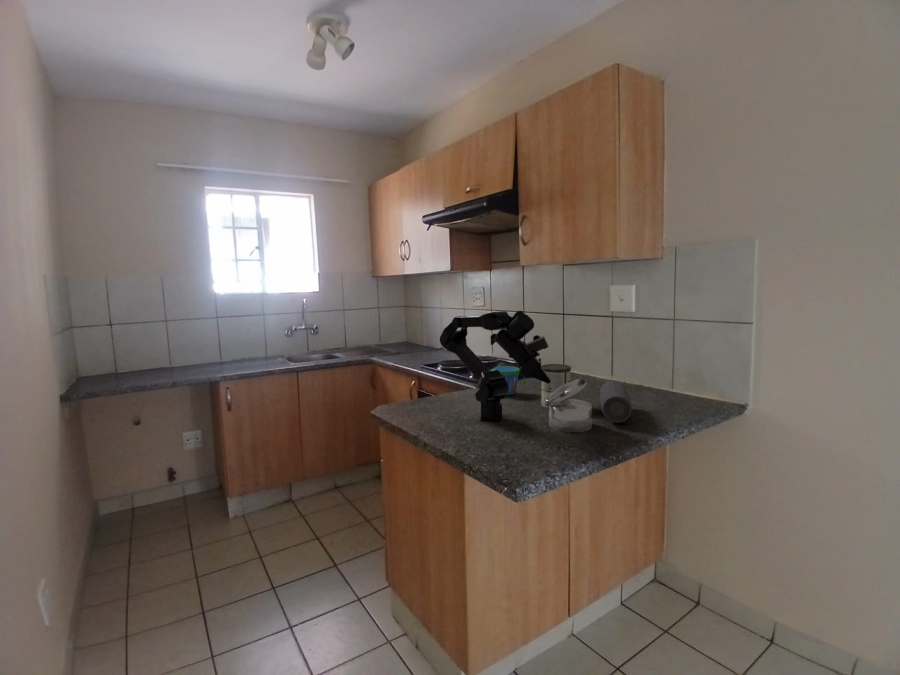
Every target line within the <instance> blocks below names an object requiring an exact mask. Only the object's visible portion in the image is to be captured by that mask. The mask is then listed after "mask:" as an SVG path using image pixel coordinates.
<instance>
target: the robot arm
mask: <svg viewBox="0 0 900 675" xmlns="http://www.w3.org/2000/svg"><path fill="white" fill-rule="evenodd" d="M468 328H482V329H483V330H486V331H497V332H496V333H492V334H491V335H490V336H489V337H490V346H493V345H494V344H495V343H497V345H498V346H500V347H501V349H503V351H504V352H505V353H507V355H508V357H509V358H510V359H513V360H514V362H515V363H517V364H518V365H517V366H518V368H519V369H520V372H519V375H521V376H522V378H523V377H524V378H526V379H527V377H531V378H533V379H535V380H537V381H538V380H539V381H541V382H542V381H543V382H545V383H548V384H549V383H550V382H551V380H550V379H549V377H548V376H547V374H546V373H545V371H544V369H543V368H542V366H543V365H542V358H541V357H540V355H541V353H540V352H539V351H542V350H546V349H548V348H549V344H548V342H547V340H546V338H545V337H546V336H540V335H539V334H536V335H533V337H532V340H531V341H530V342H526V341H523V340H522V339H523V338H524V337H525V336H526V335H527V334H528V333H530V332H531V331H532V330H533V329H534V328H535V322H534V320H533V319H532V318H531V316H529V315H527V314H526V313H524V311H523V310H517V311H516V312H515V313H514V314H513V315H512V316H510V315H509V313H508V312H507V311H506V310H505V311H504V310H503V311H502V310H499V311H488V312H485V313H483V314H482V315H470V316H469V315H468V316H466V315H458V316H455V317H454V318H452V321H451V322H450V323H449V324H448V325H446V327H444V329H443V330H442V333H441V334H440V336H439V343H440V345H441V346H442V348H444V349H445V350H446V351H448V352H450V353H453V354H455V355H456V356H457V357H458V358H459V360H460V361H461V362H462V363H463V364H464V366H466V368H467V369H468V370H469V372H470V373H472V375H473V376H474V377H475V378H476V380H477V381H478V382H477V383H478V390H477V391H476V392H475V400H476V402H480V418H479V421H488V422H489V421H490V422H492V421H493V422H501V420H502V419H501V418H503V403H501V402H502V401H501V400H505V399H506V396H507V395H506V393H507V390H508V383H507V381H506V380H505V378H506V377H504V376H503V375H502V374H501V373H500V371H498V370H494V371H491V370H490V369H489V367H487V366H486V365H485V364H484V362H482V360H481V359H480V358H479V357H478V356H477V354H476V353H475V352H474V351H472V349H471V348H470V347H469V345H467V344H468V343H467V336H468ZM459 329H460V330H459ZM537 357H540V358H537ZM524 378H523V379H524Z"/></svg>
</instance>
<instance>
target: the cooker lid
mask: <svg viewBox="0 0 900 675" xmlns="http://www.w3.org/2000/svg"><path fill="white" fill-rule="evenodd" d="M587 386H588V382H587V380H586V379H585V378H584V377H583V375H582V373H580V374H578V375H577V379H573V380H571V381H570V382H568V383H566V384H564V385H562V386H560V387H559V388H557V389H556V390H554V391H553V392H552V393H550V394H549V395H548V397H546V398H545V401H546V405H550V404H558V403H561V402H563V401H566V400H568V399H573V398H574V397H575V396H577V395H578V394H580V393H581V392H582V391H583V390H584V389H585V388H587Z"/></svg>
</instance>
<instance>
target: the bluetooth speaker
mask: <svg viewBox="0 0 900 675" xmlns="http://www.w3.org/2000/svg"><path fill="white" fill-rule="evenodd" d="M599 405H600V408H601V412H602V414H603V415H604V417H605V418H606V419H607V420H609V421H610V422H612V423H623V422H625V421H627V420H628V419H629V418H630V417H631V415H632V412H633V411H632V406H633V405H632V400H631V398H630V394H629V393H628V389H627V388H626V387H625V385H624V384H622V383H621V382H620V381H618V380H608V381H606V382H605V383H603V384H602V385H601V387H600V390H599Z"/></svg>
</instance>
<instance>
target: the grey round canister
mask: <svg viewBox="0 0 900 675" xmlns="http://www.w3.org/2000/svg"><path fill="white" fill-rule="evenodd" d="M592 413H593V404H592V403H591V402H588V401H586V400H582V399H575V398H570V399H568V400H566V401H563V402H561V403H558V404H550V405H549V408H548V426H549V427H550V428H551V429H553V430H555V431H559V432H562V431H563V433H570V432H579V433H584V431H586V432H588V430H589V431H590V430H592V424H593V422H592V417H593V414H592Z"/></svg>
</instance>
